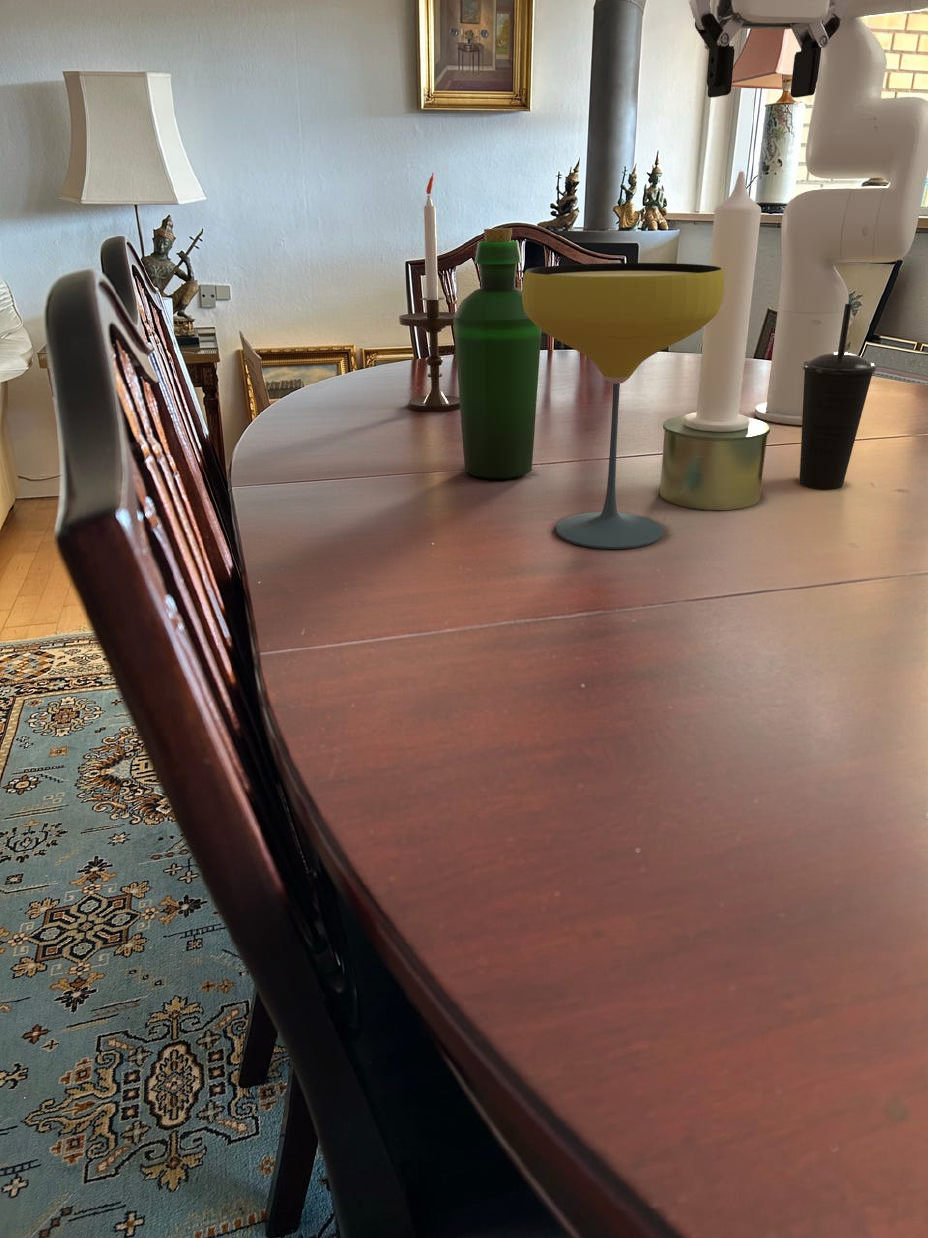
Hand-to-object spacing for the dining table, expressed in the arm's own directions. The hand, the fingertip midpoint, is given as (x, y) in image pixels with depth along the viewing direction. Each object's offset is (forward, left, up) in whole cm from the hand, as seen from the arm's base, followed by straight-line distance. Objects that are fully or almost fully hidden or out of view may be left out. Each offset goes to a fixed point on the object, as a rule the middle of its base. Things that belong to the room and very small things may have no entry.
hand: (761, 95), depth 89 cm
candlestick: (+19, -56, -40) cm, 71 cm away
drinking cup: (-10, +5, -40) cm, 42 cm away
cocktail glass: (+20, +11, -40) cm, 46 cm away
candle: (+4, +4, -32) cm, 33 cm away
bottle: (+23, -14, -40) cm, 48 cm away
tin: (+4, +4, -40) cm, 40 cm away
